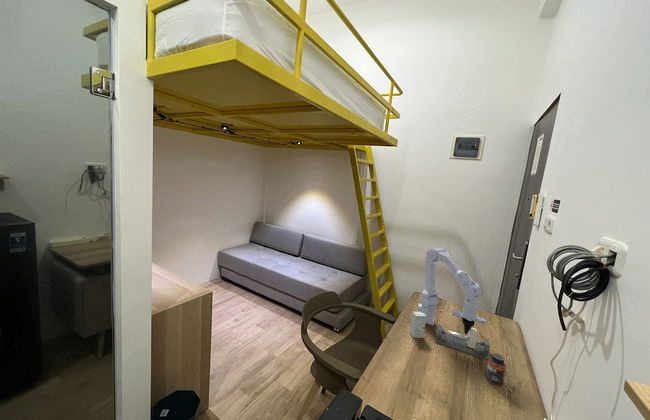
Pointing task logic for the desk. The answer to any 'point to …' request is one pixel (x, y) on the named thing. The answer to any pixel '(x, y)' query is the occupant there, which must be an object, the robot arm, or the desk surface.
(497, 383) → the supplement bottle
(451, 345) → the pipe rig
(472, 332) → the collar
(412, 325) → the skincare box
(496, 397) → the desk surface
